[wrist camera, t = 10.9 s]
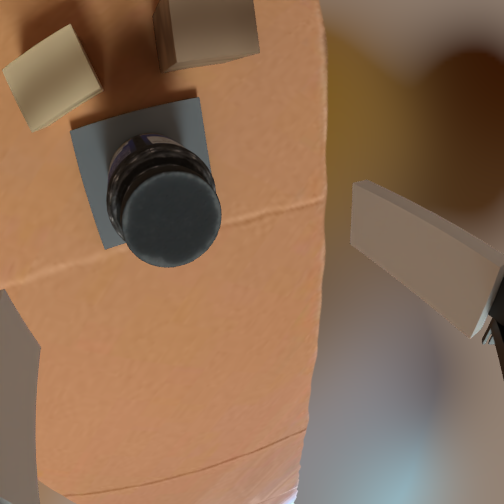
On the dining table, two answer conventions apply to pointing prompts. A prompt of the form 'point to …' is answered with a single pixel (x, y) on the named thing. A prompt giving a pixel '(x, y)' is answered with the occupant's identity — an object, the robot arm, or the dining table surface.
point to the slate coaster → (120, 130)
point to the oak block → (52, 79)
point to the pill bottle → (162, 200)
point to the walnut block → (204, 32)
